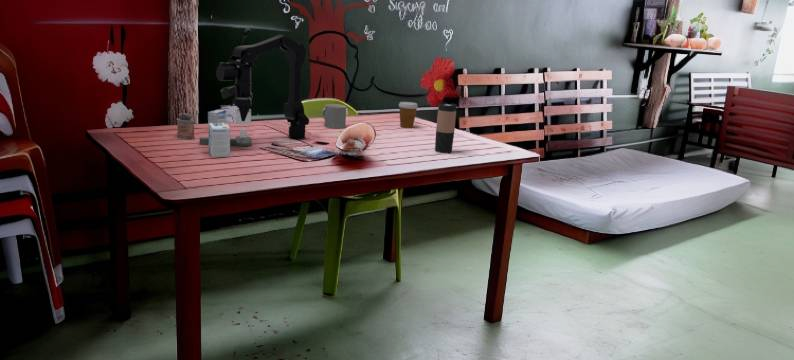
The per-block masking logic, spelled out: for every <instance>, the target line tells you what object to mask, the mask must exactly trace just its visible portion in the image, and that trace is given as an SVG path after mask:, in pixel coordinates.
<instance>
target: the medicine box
mask: <svg viewBox="0 0 794 360" xmlns="http://www.w3.org/2000/svg"><path fill="white" fill-rule="evenodd" d="M207 121H208V122H207V124H208V130H207V131H209V123H227V110H224V109H215V110H211V111H207Z"/></svg>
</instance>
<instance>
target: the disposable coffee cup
mask: <svg viewBox="0 0 794 360" xmlns="http://www.w3.org/2000/svg"><path fill="white" fill-rule="evenodd" d="M398 107H399V124H400V126H399V127H400V128H401V129H402V128H403V129H413V128H414V125H415V119H416V115H417V110H418V107H419V106H418V103H416V102H412V101H411V102H410V101H399V103H398Z"/></svg>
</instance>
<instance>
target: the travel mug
mask: <svg viewBox="0 0 794 360" xmlns="http://www.w3.org/2000/svg"><path fill="white" fill-rule="evenodd" d="M457 107H458V105H457V103H450V104H448V103H447V102H439V103H438V108H437V116H436V117H437V118H436V126H435V127H436V128H435V143H434V144H435V145H434V151H435V152H437V153H439V154H450V153H452V152H453V145H454V139H455V138H454V137H455V127H456V120H457V119H456V117H457Z"/></svg>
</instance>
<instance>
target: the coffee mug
mask: <svg viewBox="0 0 794 360" xmlns="http://www.w3.org/2000/svg"><path fill="white" fill-rule="evenodd" d="M321 116H322V118H323V120H324V127H325V128H327V129H334V130H341V129H345V128H346V121H347V120H346V118H347V105H344V104H337V103H335V104H334V103H333V104H332V103H331V104H325V106H324V108H323V109H322V111H321Z"/></svg>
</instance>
